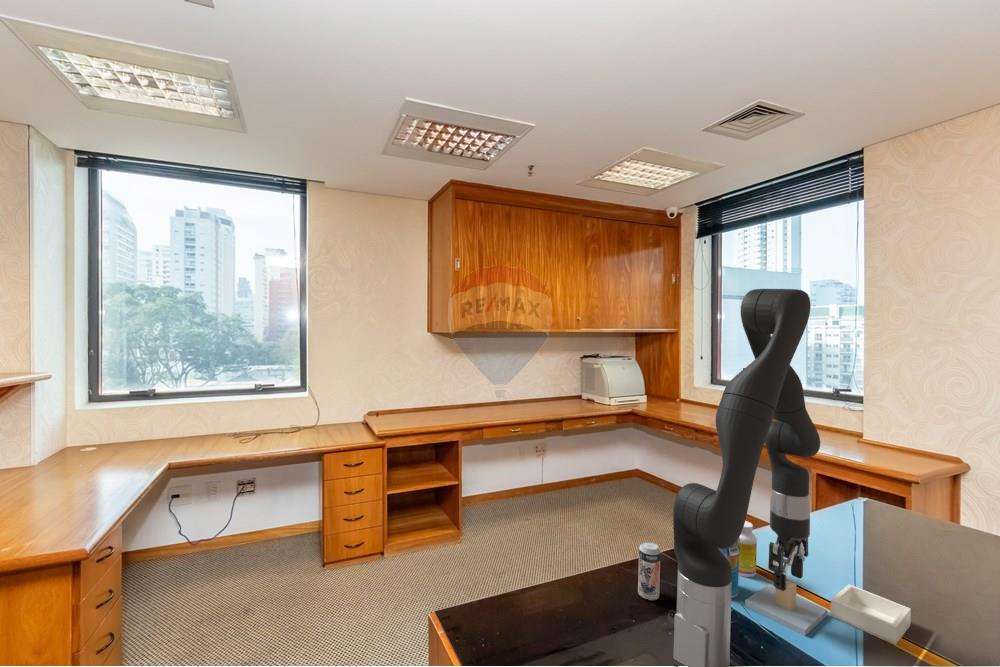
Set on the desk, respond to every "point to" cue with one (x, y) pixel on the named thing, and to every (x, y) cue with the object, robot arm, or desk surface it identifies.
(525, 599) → the desk surface
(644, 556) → the beer can
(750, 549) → the supplement bottle
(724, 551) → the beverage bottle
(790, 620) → the lid
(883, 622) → the white rectangular open box
